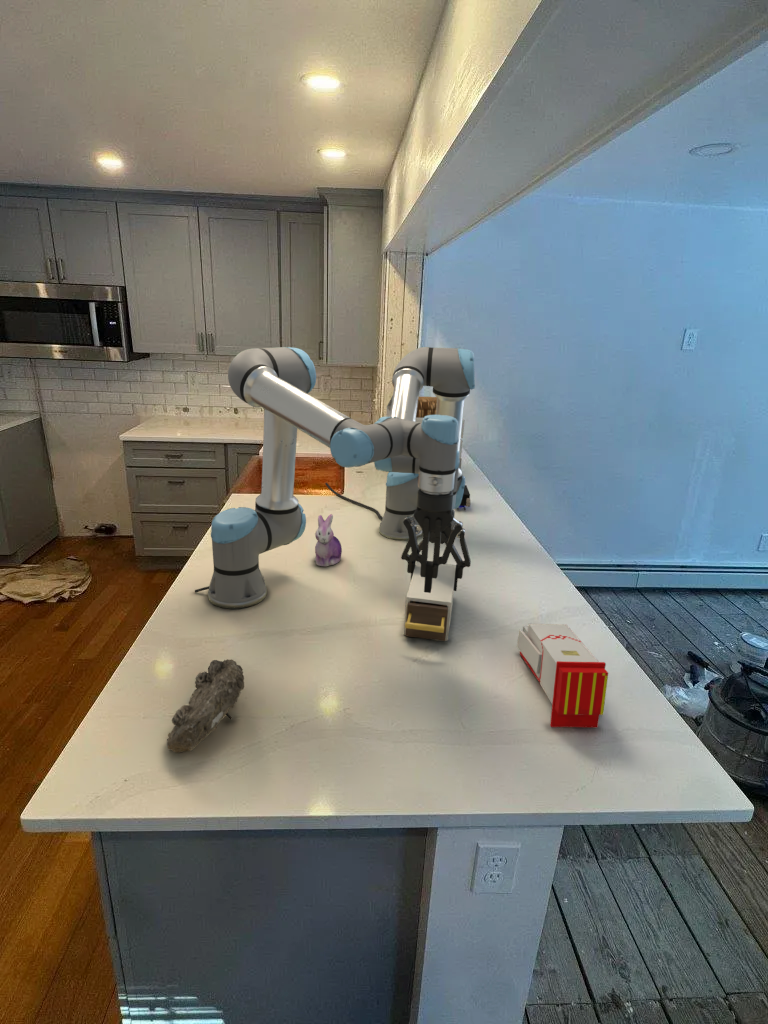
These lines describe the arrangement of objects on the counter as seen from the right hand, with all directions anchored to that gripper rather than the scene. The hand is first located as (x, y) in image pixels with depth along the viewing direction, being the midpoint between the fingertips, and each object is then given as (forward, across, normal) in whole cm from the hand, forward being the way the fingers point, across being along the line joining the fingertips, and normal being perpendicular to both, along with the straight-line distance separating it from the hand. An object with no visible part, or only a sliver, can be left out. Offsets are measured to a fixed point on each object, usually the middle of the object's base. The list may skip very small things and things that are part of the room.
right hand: (433, 586), depth 151 cm
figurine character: (+6, +3, +84) cm, 84 cm away
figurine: (+6, -34, +19) cm, 40 cm away
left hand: (-10, 0, -22) cm, 24 cm away
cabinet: (+6, 0, -6) cm, 8 cm away
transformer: (+6, -18, +128) cm, 130 cm away
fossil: (+6, -37, -54) cm, 66 cm away
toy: (+6, +29, -28) cm, 41 cm away
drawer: (+5, 0, -12) cm, 12 cm away
